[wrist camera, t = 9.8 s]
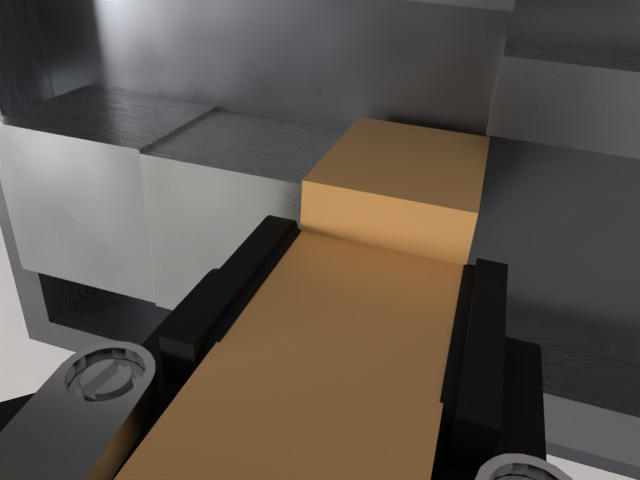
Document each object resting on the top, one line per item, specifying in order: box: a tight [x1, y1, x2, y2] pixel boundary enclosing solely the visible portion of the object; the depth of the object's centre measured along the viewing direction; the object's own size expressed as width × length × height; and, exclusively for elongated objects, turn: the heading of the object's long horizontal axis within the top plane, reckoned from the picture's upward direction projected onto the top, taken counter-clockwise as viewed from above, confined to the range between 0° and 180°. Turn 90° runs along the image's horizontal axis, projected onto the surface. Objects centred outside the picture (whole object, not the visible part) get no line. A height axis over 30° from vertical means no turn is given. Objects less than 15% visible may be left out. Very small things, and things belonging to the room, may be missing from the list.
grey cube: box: [140, 110, 346, 310], centre depth 14 cm, size 4×4×4 cm
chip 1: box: [0, 86, 216, 303], centre depth 15 cm, size 4×4×4 cm
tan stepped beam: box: [114, 117, 490, 480], centre depth 9 cm, size 5×3×12 cm, turn 176°
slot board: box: [0, 0, 640, 480], centre depth 13 cm, size 14×27×3 cm, turn 86°
